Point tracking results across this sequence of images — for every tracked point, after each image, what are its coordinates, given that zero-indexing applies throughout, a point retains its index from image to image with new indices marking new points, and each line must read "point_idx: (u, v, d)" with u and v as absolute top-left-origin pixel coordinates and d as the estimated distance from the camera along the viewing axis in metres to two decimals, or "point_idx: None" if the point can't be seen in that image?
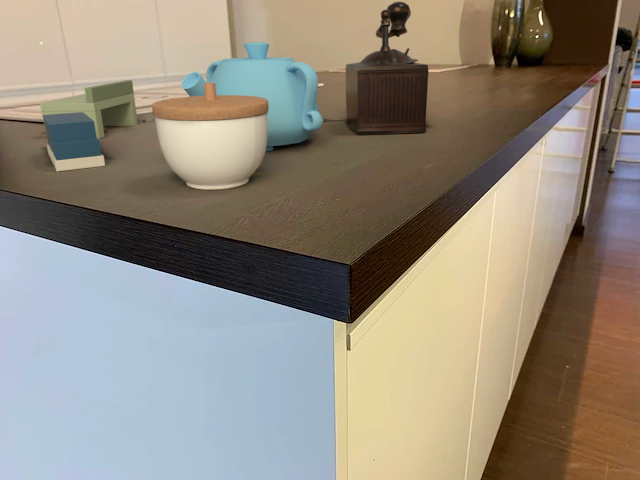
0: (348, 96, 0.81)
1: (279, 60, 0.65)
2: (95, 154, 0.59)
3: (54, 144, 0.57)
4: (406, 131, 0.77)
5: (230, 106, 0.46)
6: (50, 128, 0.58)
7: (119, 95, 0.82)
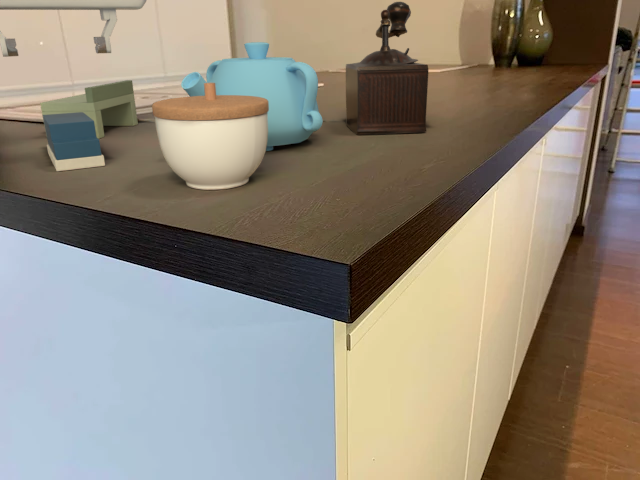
0: (348, 96, 0.81)
1: (279, 60, 0.65)
2: (95, 154, 0.59)
3: (54, 144, 0.57)
4: (406, 131, 0.77)
5: (230, 106, 0.46)
6: (50, 128, 0.58)
7: (119, 95, 0.82)
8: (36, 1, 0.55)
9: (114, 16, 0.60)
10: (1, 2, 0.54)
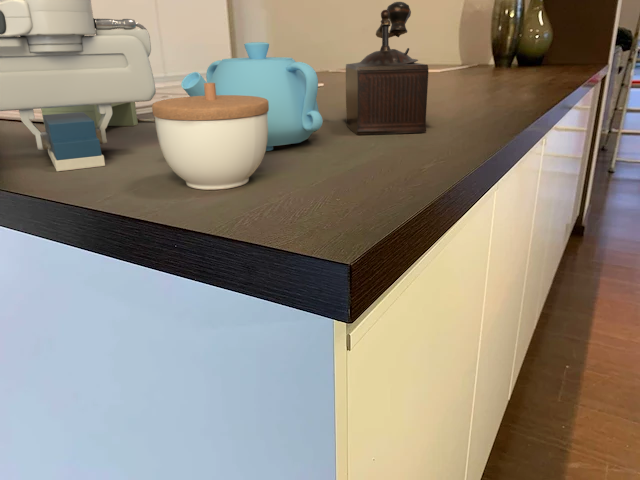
0: (348, 96, 0.81)
1: (279, 60, 0.65)
2: (95, 154, 0.59)
3: (54, 144, 0.57)
4: (406, 131, 0.77)
5: (230, 106, 0.46)
6: (50, 128, 0.58)
7: None
8: (52, 102, 0.59)
9: (110, 110, 0.63)
10: (20, 105, 0.58)
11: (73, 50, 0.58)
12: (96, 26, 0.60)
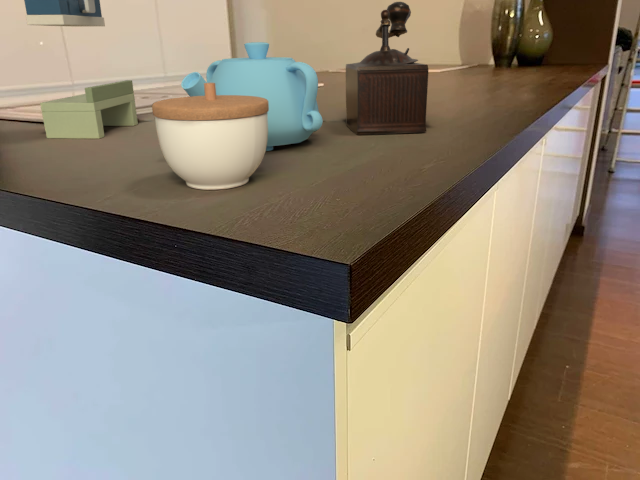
0: (348, 96, 0.81)
1: (279, 60, 0.65)
2: (55, 13, 0.68)
3: (25, 0, 0.68)
4: (406, 131, 0.77)
5: (230, 106, 0.46)
6: None
7: (119, 95, 0.82)
8: None
9: None
10: None
11: None
12: None
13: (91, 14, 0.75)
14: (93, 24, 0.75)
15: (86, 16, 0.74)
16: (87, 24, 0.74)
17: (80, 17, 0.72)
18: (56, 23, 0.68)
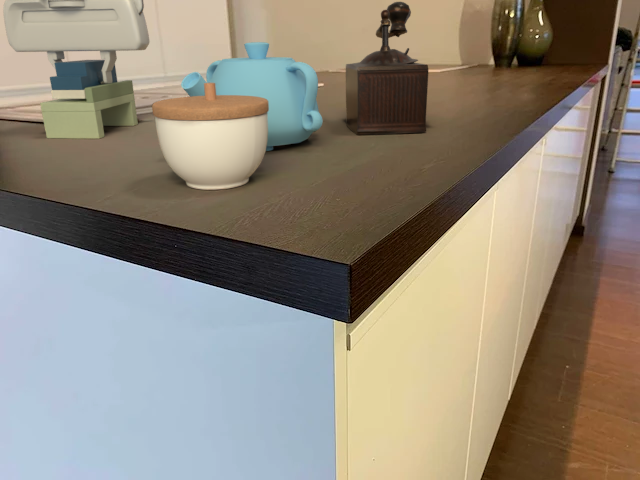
0: (348, 96, 0.81)
1: (279, 60, 0.65)
2: (78, 88, 0.75)
3: (50, 77, 0.75)
4: (406, 131, 0.77)
5: (230, 106, 0.46)
6: (55, 65, 0.76)
7: (119, 95, 0.82)
8: (64, 46, 0.77)
9: (108, 56, 0.78)
10: (44, 47, 0.78)
11: (73, 5, 0.74)
12: None
13: None
14: None
15: None
16: None
17: None
18: (78, 97, 0.76)
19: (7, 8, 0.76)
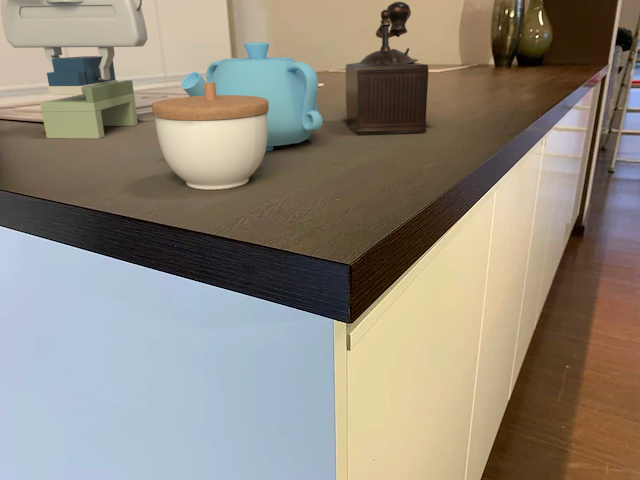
0: (348, 96, 0.81)
1: (279, 60, 0.65)
2: (75, 84, 0.75)
3: (47, 73, 0.75)
4: (406, 131, 0.77)
5: (230, 106, 0.46)
6: (52, 61, 0.76)
7: (119, 95, 0.82)
8: (62, 42, 0.77)
9: (106, 52, 0.77)
10: (41, 43, 0.77)
11: (71, 1, 0.74)
12: None
13: None
14: None
15: (102, 82, 0.81)
16: None
17: (96, 84, 0.79)
18: (75, 93, 0.75)
19: (4, 3, 0.75)
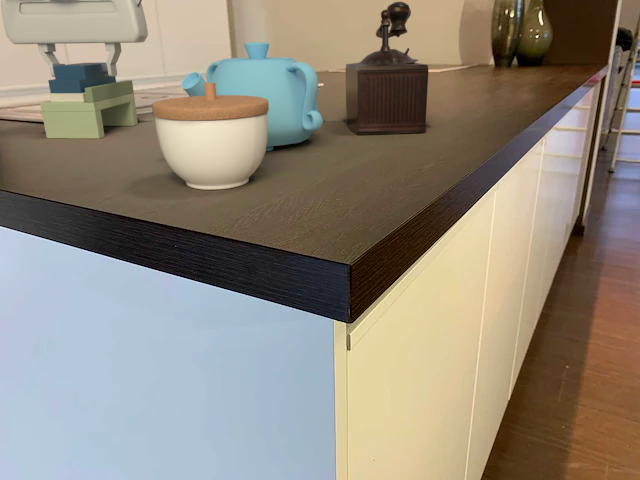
0: (348, 96, 0.81)
1: (279, 60, 0.65)
2: (76, 91, 0.75)
3: (49, 80, 0.75)
4: (406, 131, 0.77)
5: (230, 106, 0.46)
6: (54, 69, 0.76)
7: (119, 95, 0.82)
8: (62, 38, 0.77)
9: (112, 48, 0.77)
10: (42, 40, 0.77)
11: None
12: None
13: None
14: None
15: None
16: None
17: None
18: (77, 100, 0.76)
19: (5, 0, 0.75)
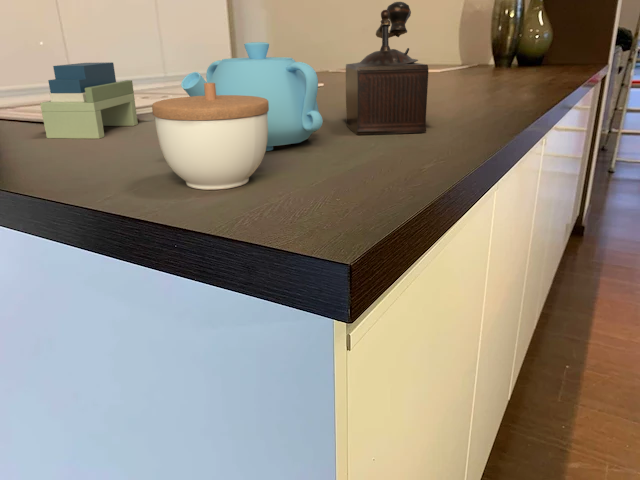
0: (348, 96, 0.81)
1: (279, 60, 0.65)
2: (76, 91, 0.75)
3: (49, 80, 0.75)
4: (406, 131, 0.77)
5: (230, 106, 0.46)
6: (54, 69, 0.76)
7: (119, 95, 0.82)
8: None
9: None
10: None
11: None
12: None
13: None
14: None
15: None
16: None
17: None
18: (77, 100, 0.76)
19: None
